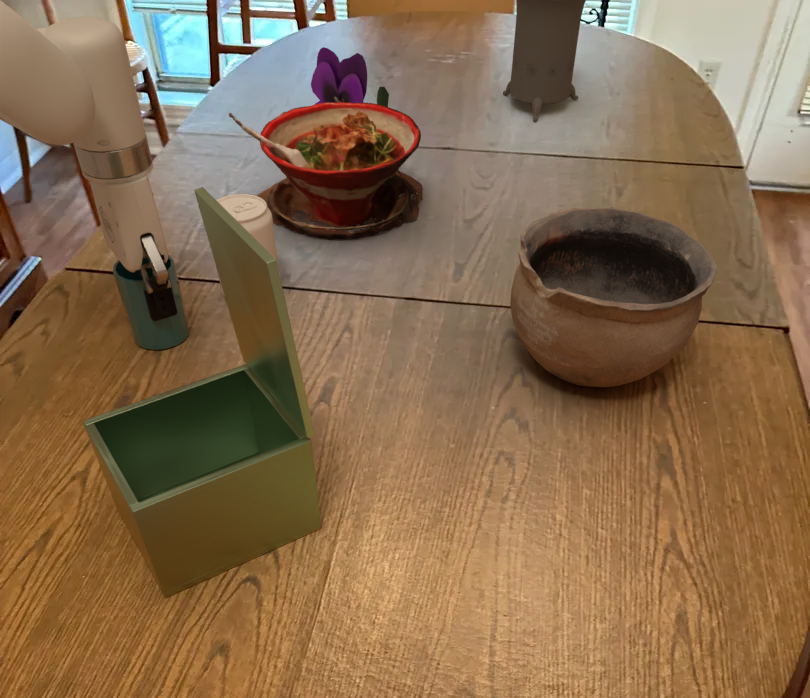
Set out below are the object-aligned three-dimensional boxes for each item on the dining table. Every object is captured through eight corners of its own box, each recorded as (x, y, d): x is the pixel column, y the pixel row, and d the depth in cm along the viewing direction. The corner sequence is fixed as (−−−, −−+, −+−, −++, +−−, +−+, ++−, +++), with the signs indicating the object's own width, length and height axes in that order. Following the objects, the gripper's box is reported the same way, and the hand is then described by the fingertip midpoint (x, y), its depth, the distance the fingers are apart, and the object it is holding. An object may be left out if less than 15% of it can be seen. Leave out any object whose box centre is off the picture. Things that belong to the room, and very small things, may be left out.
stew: (238, 252, 115) (219, 138, 103) (253, 179, 131) (238, 72, 119) (429, 249, 116) (432, 136, 104) (421, 177, 131) (423, 70, 119)
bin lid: (266, 263, 56) (276, 259, 57) (193, 189, 64) (202, 186, 64) (307, 438, 70) (315, 434, 70) (243, 360, 77) (250, 357, 78)
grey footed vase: (574, 125, 146) (599, -38, 127) (495, 119, 148) (508, -42, 129) (579, 88, 158) (602, -66, 139) (505, 83, 160) (519, -70, 141)
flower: (344, 146, 151) (290, 128, 141) (369, 61, 145) (315, 36, 135) (394, 171, 144) (342, 154, 134) (423, 83, 137) (371, 58, 127)
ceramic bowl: (474, 331, 102) (483, 220, 91) (619, 299, 107) (645, 189, 96) (556, 437, 88) (578, 322, 77) (717, 394, 94) (761, 280, 82)
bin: (165, 598, 73) (132, 512, 64) (117, 509, 81) (82, 420, 72) (321, 528, 79) (311, 440, 70) (263, 451, 87) (247, 362, 78)
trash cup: (144, 356, 98) (124, 287, 91) (125, 328, 102) (104, 260, 95) (197, 338, 100) (182, 270, 93) (177, 312, 104) (161, 245, 97)
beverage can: (210, 290, 108) (193, 205, 99) (259, 270, 112) (247, 186, 103) (243, 315, 104) (229, 229, 95) (293, 293, 108) (283, 208, 99)
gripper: (56, 134, 88) (101, 279, 101) (106, 195, 78) (148, 346, 92) (121, 121, 91) (156, 263, 104) (177, 178, 81) (208, 326, 94)
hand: (152, 301), depth 98 cm, fingers closed on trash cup, 7 cm apart
